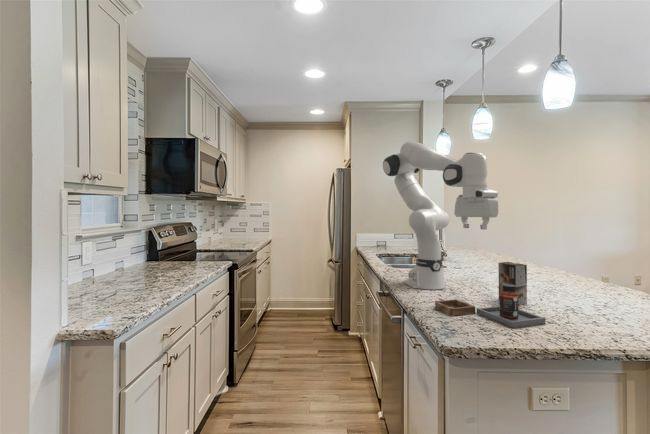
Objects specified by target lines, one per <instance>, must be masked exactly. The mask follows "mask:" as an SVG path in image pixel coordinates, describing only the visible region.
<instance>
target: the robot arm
mask: <svg viewBox="0 0 650 434" xmlns="http://www.w3.org/2000/svg"><path fill="white" fill-rule="evenodd" d="M382 169H383V172H384V173H385V174H386V176H388V177H394V181H393V182H394V184H395V187H396V189H397V191H398V193H399V195H400V197H401V198H402V200H403V201H404V203H405V205H406V206H407V208H408V209H410V210H412V212H411V214H410V215H409V217H408V225H409V226H410V228H411V229H412V230H413V232H414V233H415V237H416V241H417V258H416V259H415V266H413V267H412V268H411V269H410V270H409V271H408V274H407V275H408V276H407V277H408V278H407V279H403V283H405V284H407V285H408V286H409V287H411V288H413V289H422V290H423V289H424V290H442V289H445V287H446V286H447V283H445V275H444V269H443V267H442V266H443V259H442V243H441V241H440V240H439V238H438V236H437V232H436V231H440V230H442V229H445V228H446V227H448V225H449V223H450V216H449V213H447V212H446V211H445V210H443V209H442V208H441V207H439V206H438V205H437V204H436V203H435V202H434V201H433V200H432V199H431V198H430V197H429V196H428V194H426V192H425V190H424V189H423V188H422V186H421V184H420V183H419V181H417V179H416V177H415V174H418V173H419V172H420V170H424V171H437V172H438V171H440V172H441V171H442V179H443V182H444V184H445V185H446V186H449V187H453V188H454V187H455V188H462V194H458V196H457V197H456V200H455V203H454V216H455V217H457V218H460V220H461V222H462V224H463V225H462V226H463V227H462V228H464V229H470V223H469V222H468V218H482V223H481V224H480V228H479V229H480V230H485V231H486V230H487V229H488V225H489V222H490V218H497V217H498V215H499V201H498V199H497V198H498V197H499V193H498V191H496V190H493V189H490V188H488V183H487V177H488V162H487V157H486V155H485V153H480V152H465V153H464V154H463V155H462V156H461V158H459V159H458V160H456V159H454V158H452V157H449V156H446V155H444V154H442V153H440V152H439V151H437V150H435V149H434V148H431V147H429V146H428V145H426V144H423V143H420V142H417V141H413V140H409V141H406V142H405V143H403V144H402V146H401V147H400V150H399V152H398V153H394V154H392V155H389V156H386V157H385V158H384V159H383V162H382Z"/></svg>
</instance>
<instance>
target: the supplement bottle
mask: <svg viewBox="0 0 650 434" xmlns="http://www.w3.org/2000/svg"><path fill="white" fill-rule="evenodd" d="M515 289H516V286H515V285H512V284H503V290H501V291H500V300H499V306H500V316H502V317H504V318H508V319H516V318H518V315H519V308H520V307H519V305H520V304H519V294H518V292H517V291H516V290H515Z"/></svg>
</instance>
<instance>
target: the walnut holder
mask: <svg viewBox="0 0 650 434" xmlns="http://www.w3.org/2000/svg"><path fill="white" fill-rule="evenodd" d="M434 308H435V309H436V310H437V311H440V312H442V313H444V314H446V315H449V316H453V317H455V316H457V317H458V316H465V315H474V314H476V306H475V305H473V304H471V303H468V302H465V301H463V300H460V299H447V300H446V299H445V300H444V299H443V300H435V301H434Z"/></svg>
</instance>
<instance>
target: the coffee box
mask: <svg viewBox="0 0 650 434" xmlns="http://www.w3.org/2000/svg"><path fill="white" fill-rule="evenodd" d="M527 266H528V265H527V264H525V263H518V262H512V261H502V262H498V300H499V301H500V291H501V290H503V284H512V285H515V286H516V289H515V290H516V291H517V292H518V294H519V305H526V304H528V301H527V300H528V294H527V293H528V289H527V288H528V273H527V272H528V271H527V270H528V267H527Z"/></svg>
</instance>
